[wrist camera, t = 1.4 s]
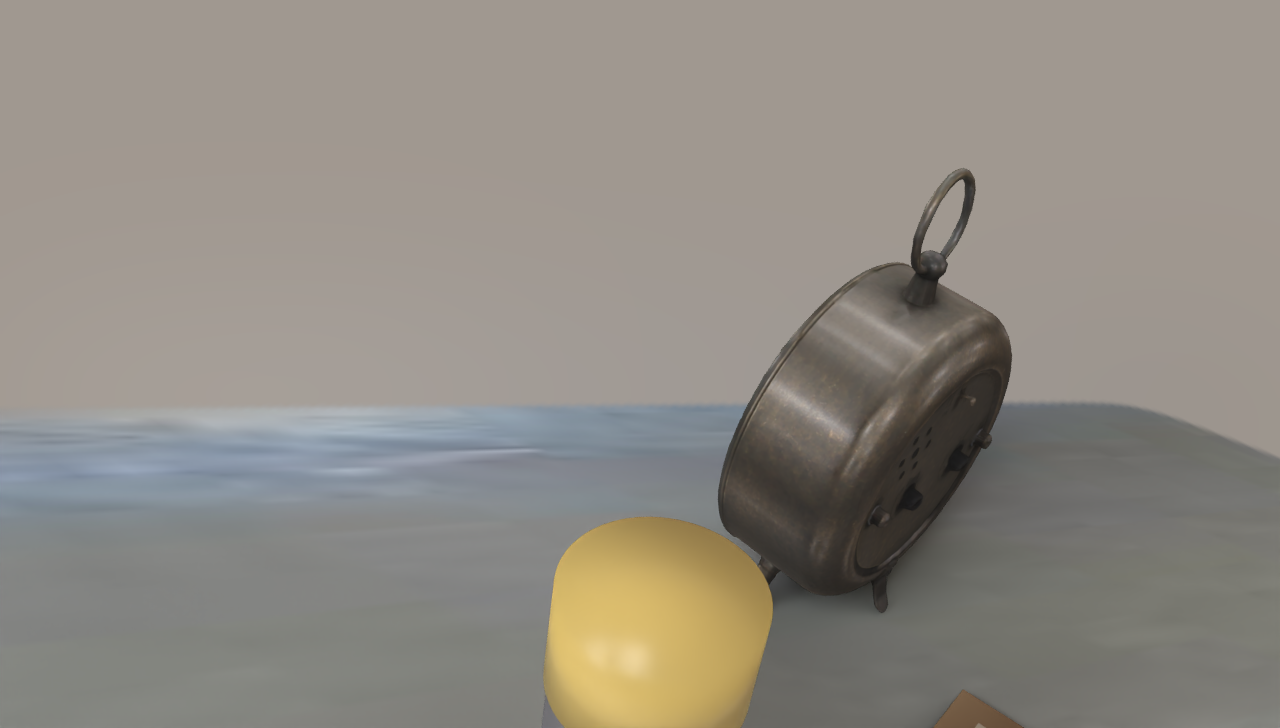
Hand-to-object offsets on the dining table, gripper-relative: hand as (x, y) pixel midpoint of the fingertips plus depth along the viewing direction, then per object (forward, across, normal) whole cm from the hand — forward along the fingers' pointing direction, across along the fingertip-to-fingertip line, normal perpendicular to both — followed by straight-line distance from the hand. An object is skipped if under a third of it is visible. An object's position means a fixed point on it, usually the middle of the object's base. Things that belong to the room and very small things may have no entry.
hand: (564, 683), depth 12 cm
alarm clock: (+26, +5, -19) cm, 33 cm away
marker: (+10, 0, -20) cm, 22 cm away
